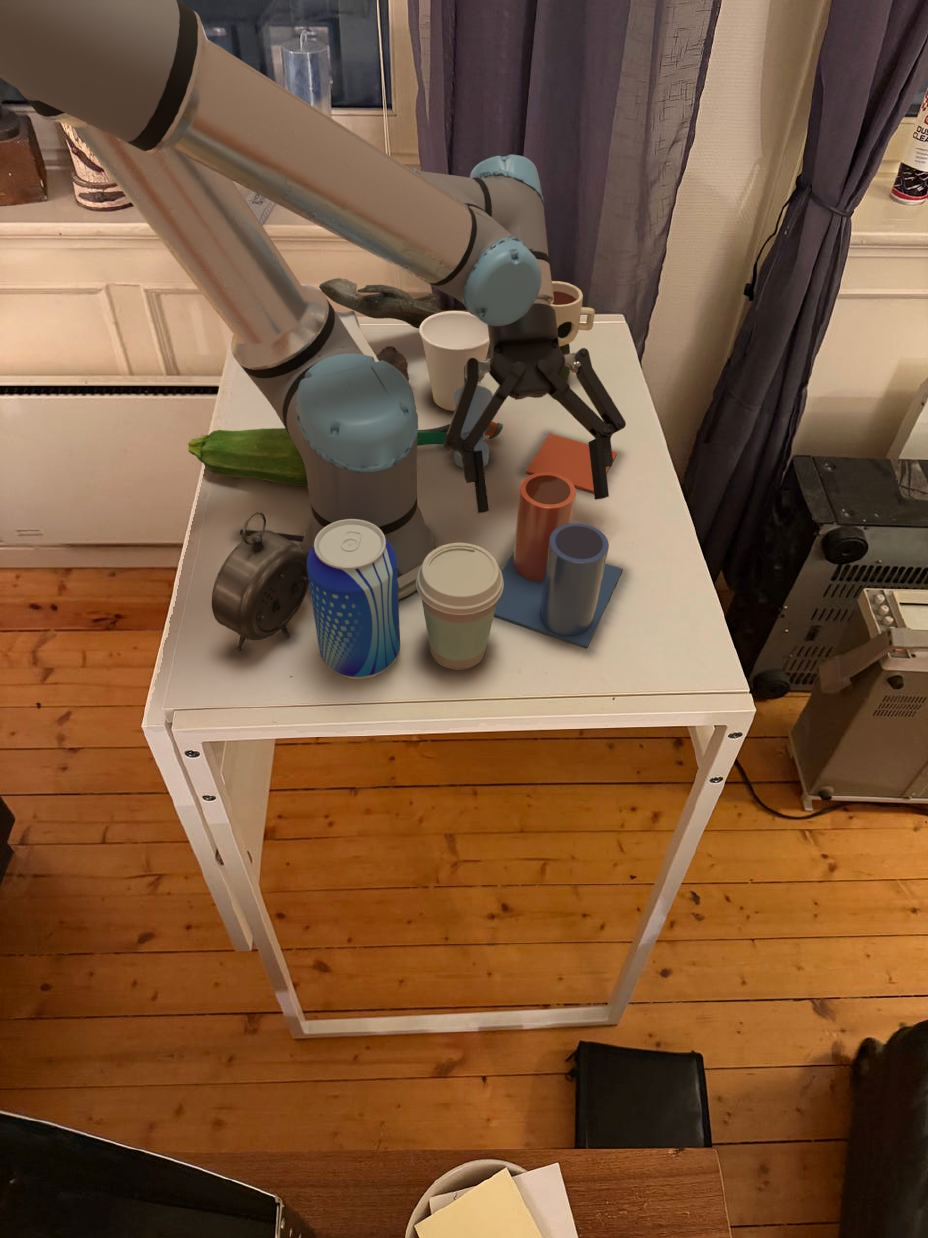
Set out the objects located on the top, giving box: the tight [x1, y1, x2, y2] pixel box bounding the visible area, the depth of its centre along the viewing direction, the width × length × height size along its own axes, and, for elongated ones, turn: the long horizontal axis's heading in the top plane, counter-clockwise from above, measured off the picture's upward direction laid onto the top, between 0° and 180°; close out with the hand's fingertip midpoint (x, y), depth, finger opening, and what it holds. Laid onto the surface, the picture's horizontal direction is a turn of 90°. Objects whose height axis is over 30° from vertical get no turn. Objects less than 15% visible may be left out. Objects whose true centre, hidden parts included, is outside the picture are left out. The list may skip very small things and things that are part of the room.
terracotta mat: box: [525, 433, 618, 494], centre depth 114 cm, size 10×9×1 cm
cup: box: [418, 310, 490, 412], centre depth 119 cm, size 10×10×11 cm
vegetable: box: [187, 427, 308, 488], centre depth 108 cm, size 7×7×20 cm
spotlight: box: [453, 385, 494, 469], centre depth 111 cm, size 5×10×7 cm
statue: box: [318, 277, 490, 346], centre depth 127 cm, size 10×6×30 cm
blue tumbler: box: [539, 522, 610, 636], centre depth 91 cm, size 6×6×11 cm
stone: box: [376, 345, 410, 383], centre depth 126 cm, size 11×2×5 cm
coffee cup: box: [416, 542, 504, 671], centre depth 88 cm, size 8×8×12 cm
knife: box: [417, 420, 504, 447], centre depth 114 cm, size 20×2×5 cm, turn 105°
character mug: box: [551, 280, 596, 382], centre depth 123 cm, size 11×7×13 cm, turn 83°
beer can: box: [307, 519, 401, 680], centre depth 86 cm, size 8×8×16 cm
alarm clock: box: [210, 510, 310, 653], centre depth 87 cm, size 11×5×16 cm, turn 148°
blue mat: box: [494, 551, 624, 649], centre depth 98 cm, size 13×13×1 cm
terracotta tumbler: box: [513, 472, 577, 582], centre depth 97 cm, size 6×6×11 cm
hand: (543, 505), depth 96 cm, fingers open, 13 cm apart
